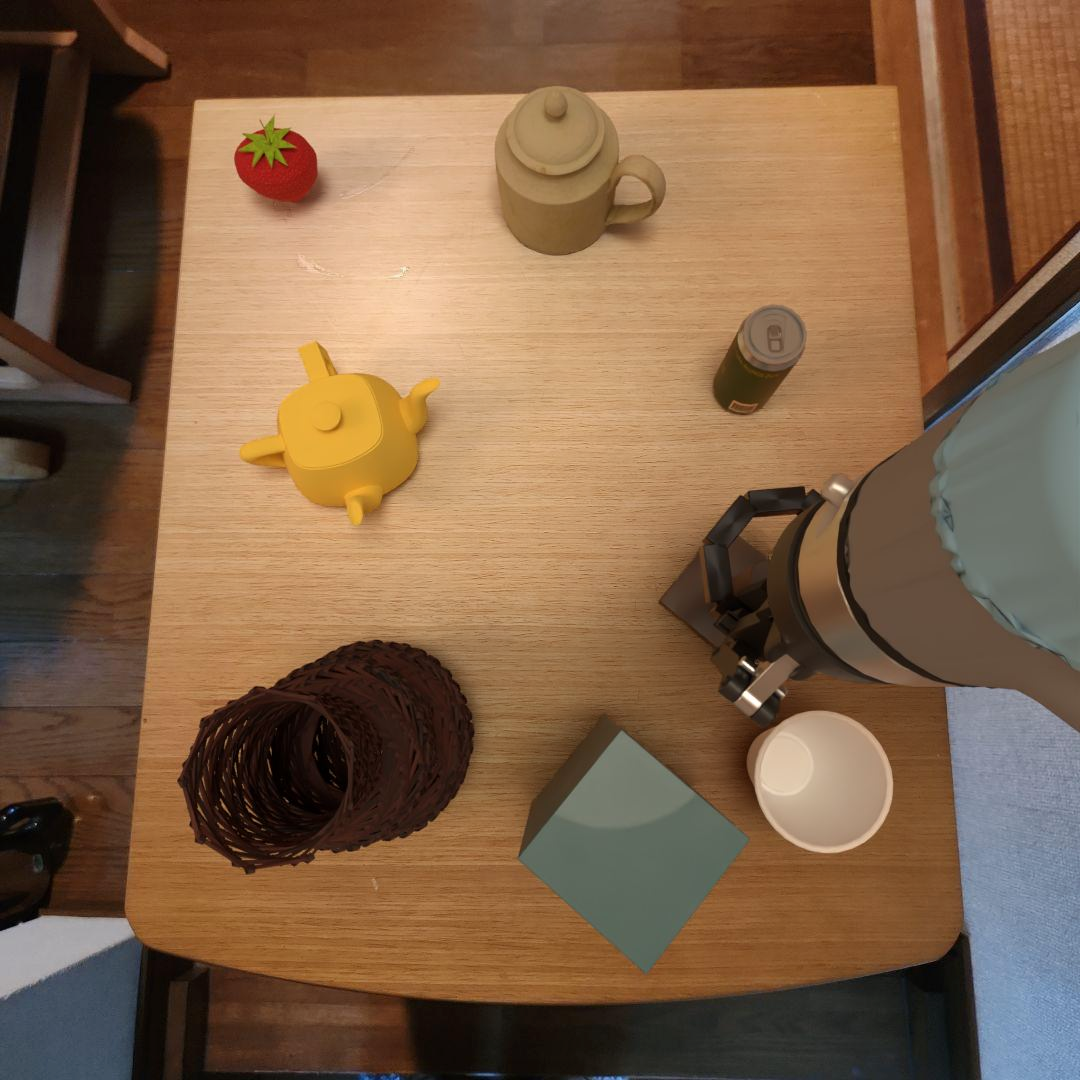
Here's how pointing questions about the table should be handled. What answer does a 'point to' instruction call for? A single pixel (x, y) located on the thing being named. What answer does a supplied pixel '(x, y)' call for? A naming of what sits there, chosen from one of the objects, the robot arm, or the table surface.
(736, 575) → the holder
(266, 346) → the table surface
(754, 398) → the beer can
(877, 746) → the cup
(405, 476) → the teapot
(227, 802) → the vase
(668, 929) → the stand
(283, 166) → the strawberry
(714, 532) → the ring
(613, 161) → the lidded mug
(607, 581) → the table surface
